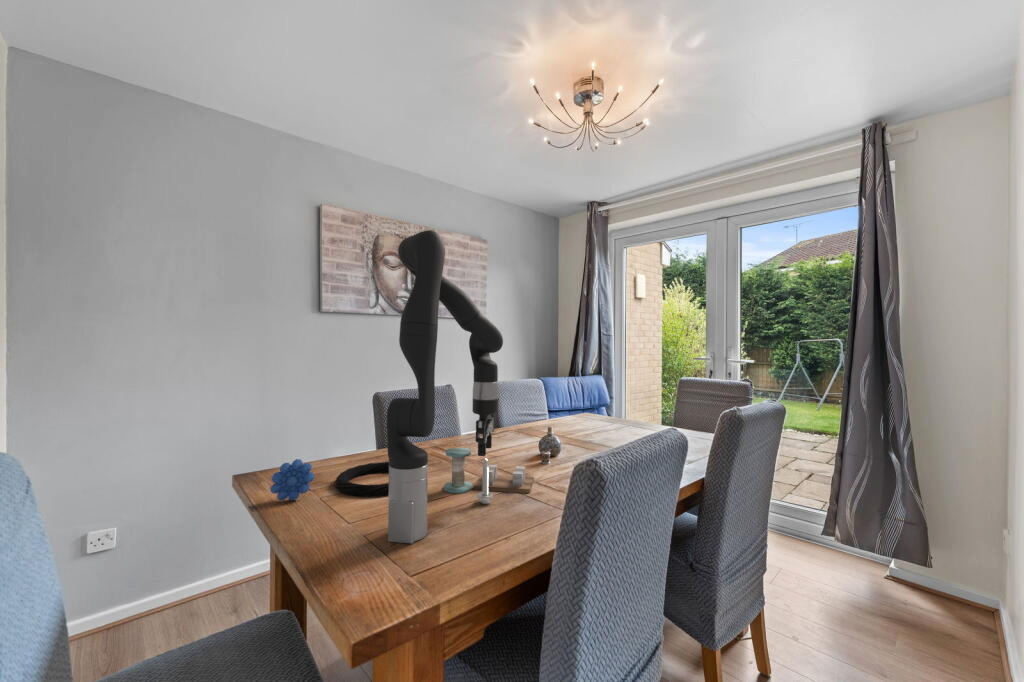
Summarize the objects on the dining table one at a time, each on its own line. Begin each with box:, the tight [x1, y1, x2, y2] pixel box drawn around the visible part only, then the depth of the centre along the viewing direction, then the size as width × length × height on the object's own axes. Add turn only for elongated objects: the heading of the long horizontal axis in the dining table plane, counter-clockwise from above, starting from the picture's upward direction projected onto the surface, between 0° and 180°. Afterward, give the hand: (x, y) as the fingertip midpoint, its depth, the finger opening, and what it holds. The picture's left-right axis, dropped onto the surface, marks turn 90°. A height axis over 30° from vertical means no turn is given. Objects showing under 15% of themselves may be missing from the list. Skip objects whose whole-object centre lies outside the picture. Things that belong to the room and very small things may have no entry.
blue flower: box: [270, 458, 315, 501], centre depth 130 cm, size 12×7×12 cm, turn 108°
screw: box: [476, 457, 494, 505], centre depth 129 cm, size 13×5×5 cm
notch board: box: [472, 464, 535, 494], centre depth 144 cm, size 12×18×5 cm, turn 81°
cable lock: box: [334, 461, 389, 498], centre depth 147 cm, size 28×4×30 cm
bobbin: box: [443, 447, 473, 494], centre depth 141 cm, size 9×9×12 cm
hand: (484, 451), depth 129 cm, fingers open, 8 cm apart
